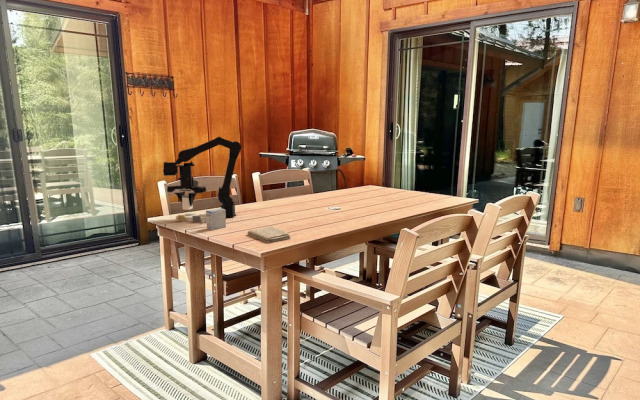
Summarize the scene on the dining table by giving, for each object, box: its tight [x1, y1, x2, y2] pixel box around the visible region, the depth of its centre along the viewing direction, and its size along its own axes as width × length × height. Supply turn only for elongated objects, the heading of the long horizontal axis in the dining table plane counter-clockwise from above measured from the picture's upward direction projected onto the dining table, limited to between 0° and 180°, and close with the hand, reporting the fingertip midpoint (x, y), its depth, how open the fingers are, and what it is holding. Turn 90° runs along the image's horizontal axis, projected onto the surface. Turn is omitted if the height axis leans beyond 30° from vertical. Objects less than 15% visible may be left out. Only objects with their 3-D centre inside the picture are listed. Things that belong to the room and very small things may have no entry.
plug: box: [181, 194, 194, 211], centre depth 212 cm, size 4×4×7 cm
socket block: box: [175, 212, 206, 223], centre depth 211 cm, size 15×12×3 cm
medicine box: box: [205, 207, 227, 231], centre depth 193 cm, size 8×4×9 cm, turn 141°
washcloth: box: [247, 226, 292, 244], centre depth 179 cm, size 12×18×3 cm, turn 40°
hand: (187, 205), depth 212 cm, fingers closed on plug, 4 cm apart
